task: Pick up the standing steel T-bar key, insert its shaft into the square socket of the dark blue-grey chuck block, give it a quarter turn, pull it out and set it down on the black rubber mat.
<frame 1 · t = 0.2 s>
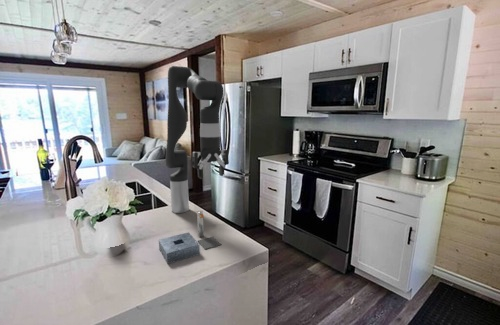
hand: (211, 177, 102), 28 cm above the counter, fingers open, 8 cm apart
mat: (209, 243, 106), on the counter
chuck block: (179, 251, 100), on the counter
chuck key: (200, 235, 113), on the counter
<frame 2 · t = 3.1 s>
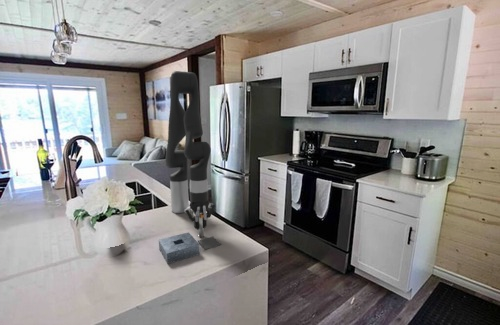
hand: (200, 228, 112), 4 cm above the counter, fingers closed on chuck key, 2 cm apart
chuck key: (200, 235, 113), on the counter, touching gripper
everything else where it was.
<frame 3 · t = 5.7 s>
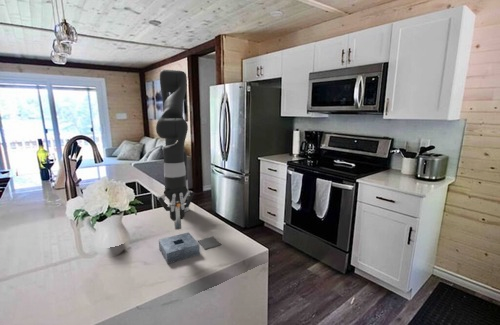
hand: (177, 219, 97), 13 cm above the counter, fingers closed on chuck key, 2 cm apart
chuck key: (178, 228, 98), point 10 cm above the counter, touching gripper
everything else where it was.
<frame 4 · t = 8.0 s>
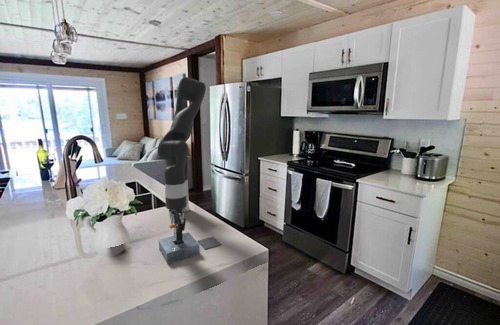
hand: (178, 238, 99), 6 cm above the counter, fingers closed on chuck key, 2 cm apart
chuck key: (179, 247, 100), point 1 cm above the counter, touching gripper
everything else where it was.
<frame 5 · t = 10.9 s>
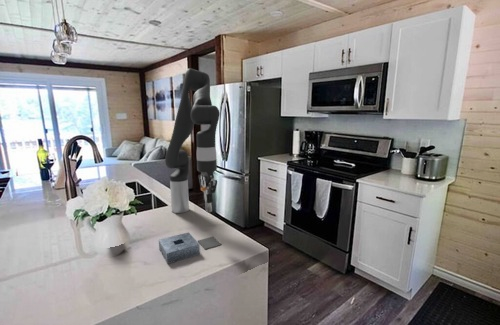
hand: (208, 201, 103), 18 cm above the counter, fingers closed on chuck key, 2 cm apart
chuck key: (209, 211, 104), point 14 cm above the counter, touching gripper
everything else where it was.
when the fingers open (5 cm above the counter, at t = 13.3 s): chuck key stays where it is, resting on mat.
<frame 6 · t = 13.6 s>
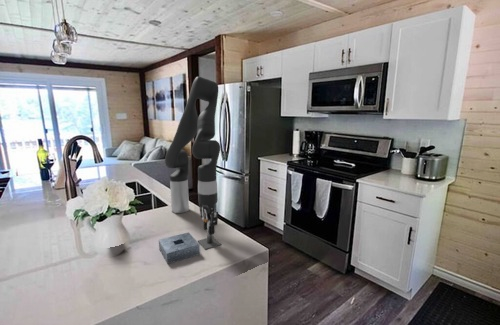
hand: (209, 231, 105), 5 cm above the counter, fingers open, 4 cm apart
chuck key: (209, 241, 106), resting on mat
everything else where it was.
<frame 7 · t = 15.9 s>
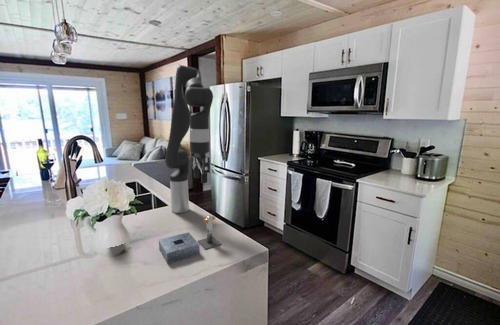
hand: (200, 180, 105), 26 cm above the counter, fingers open, 8 cm apart
nothing on the counter moved.
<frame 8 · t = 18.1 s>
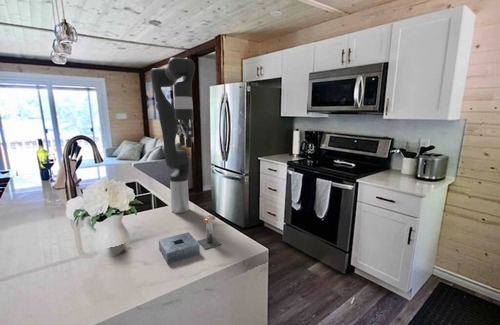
hand: (185, 146, 112), 38 cm above the counter, fingers open, 8 cm apart
nothing on the counter moved.
at the end: chuck key inside the target area on the mat (0.3 cm from its centre), point 0.4 cm above the mat's base; the gripper is holding nothing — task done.
